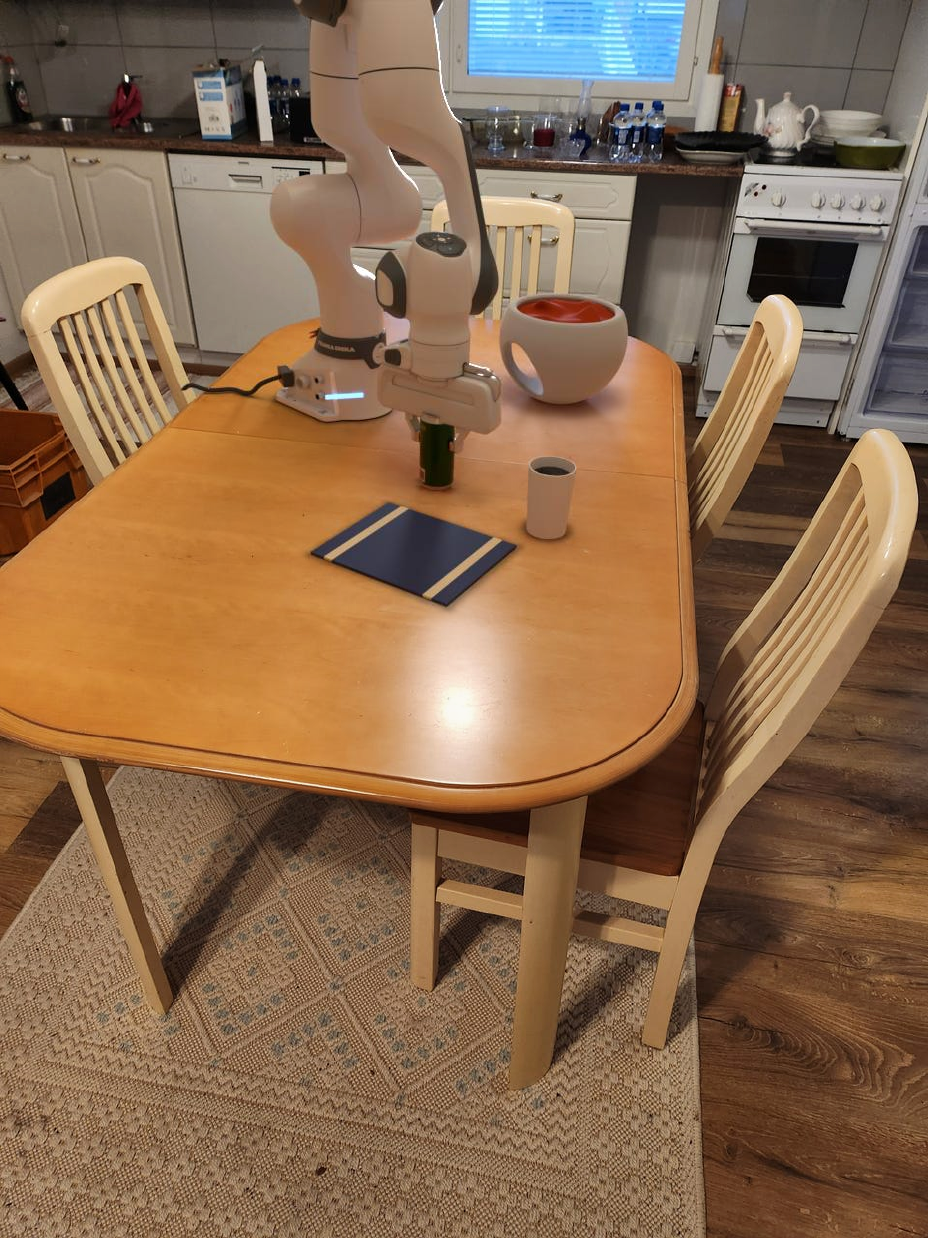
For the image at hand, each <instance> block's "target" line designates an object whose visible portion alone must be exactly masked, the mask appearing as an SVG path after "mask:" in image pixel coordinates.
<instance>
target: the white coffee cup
mask: <svg viewBox="0 0 928 1238" xmlns="http://www.w3.org/2000/svg"><path fill="white" fill-rule="evenodd" d="M527 473H528V475H527V476H528V477H527V501H526V524H525V525H526V526H525V527H526V529H525V531H526V532H527V533H528V534H529V535H531V536H532V537H534V538H538V539H542V540H554V539H555V540H557V539H559V538H562V537H563V536H564V535H565V534H566V533H567V527H568V520H569V516H570V515H569V514H570V508H571V502H572V497H573V496H572V495H573V492H574V486H575V480H576V479H575V478H576V473H577V465H576V464H575V463H574V461H572V460H570V459H567V458H566V457H565V458H564V457H561V456H554V455H543V456H537V457H534V458H532V459H531V460H530V461H529V462H528V472H527Z"/></svg>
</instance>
